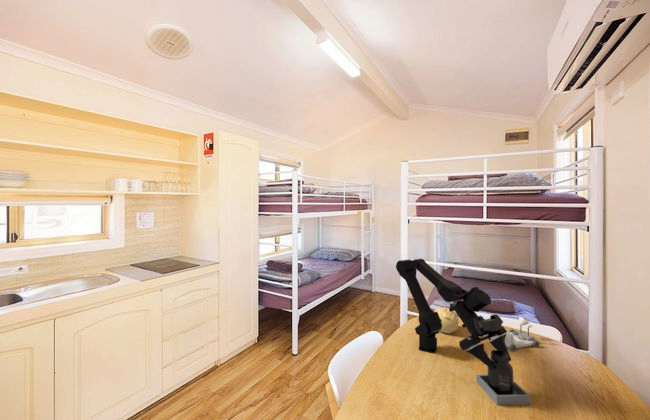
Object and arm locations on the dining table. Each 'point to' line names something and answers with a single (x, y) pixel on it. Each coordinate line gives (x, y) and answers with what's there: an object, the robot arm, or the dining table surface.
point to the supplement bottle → (500, 373)
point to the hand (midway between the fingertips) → (501, 364)
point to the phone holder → (520, 337)
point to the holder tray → (516, 398)
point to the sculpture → (448, 320)
